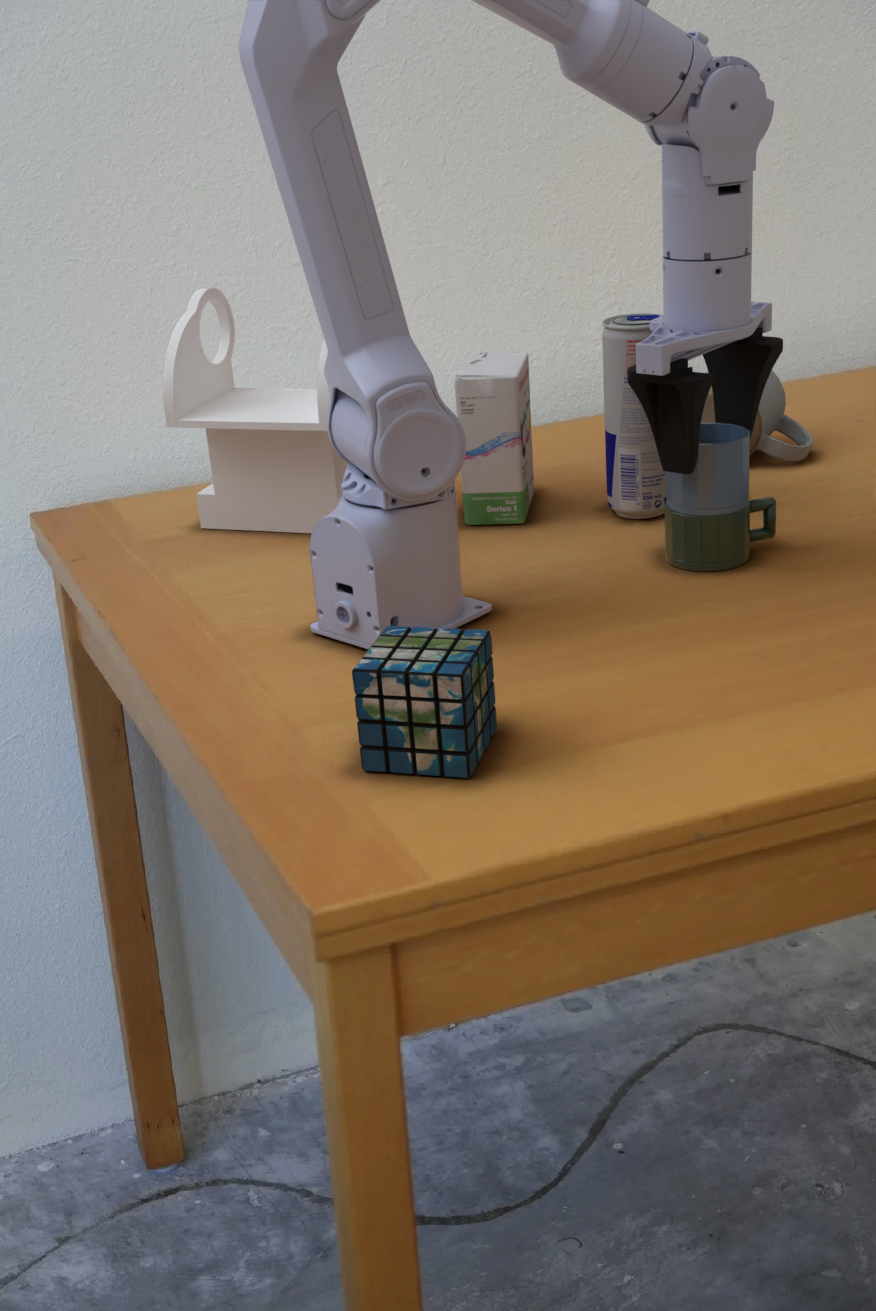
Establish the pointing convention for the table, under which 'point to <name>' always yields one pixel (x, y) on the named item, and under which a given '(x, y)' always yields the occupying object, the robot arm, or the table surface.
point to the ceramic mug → (771, 424)
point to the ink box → (495, 437)
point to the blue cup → (714, 474)
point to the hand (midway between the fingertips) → (706, 456)
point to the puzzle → (425, 701)
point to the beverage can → (629, 425)
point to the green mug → (716, 536)
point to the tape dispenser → (251, 434)
